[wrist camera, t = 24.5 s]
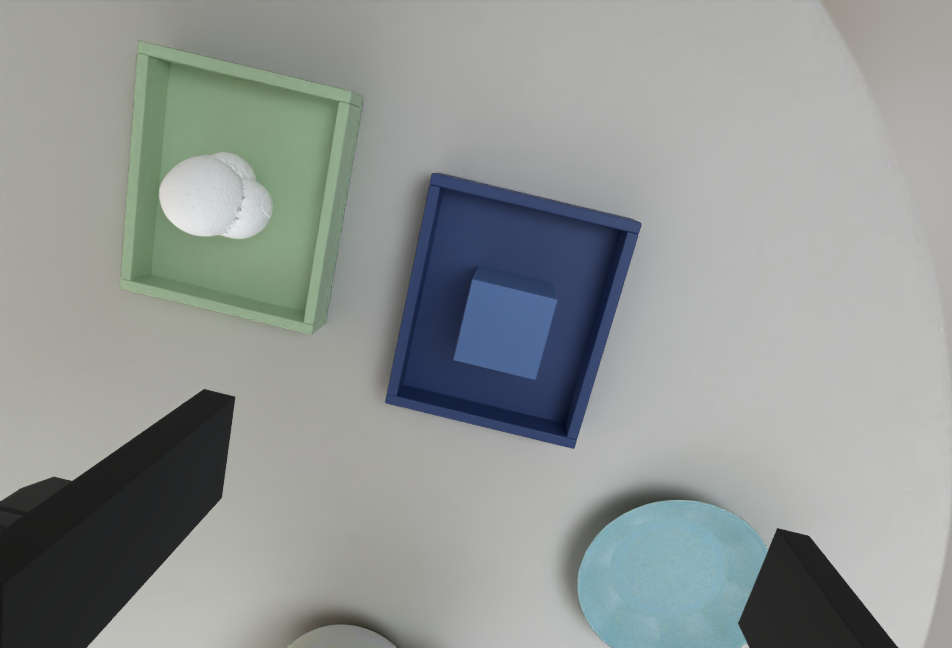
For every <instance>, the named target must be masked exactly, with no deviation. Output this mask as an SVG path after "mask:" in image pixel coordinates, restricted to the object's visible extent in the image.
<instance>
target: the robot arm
mask: <svg viewBox="0 0 952 648" xmlns="http://www.w3.org/2000/svg"><path fill="white" fill-rule="evenodd" d="M234 403H235V397H234V396H230V395H226V394H222V393H218V392H214V391H210V390H206V389H203V390H202V391H201V392H199V393H198V394H196V395H195V396H193V397H192V398H191V399H189V400H188V401H186V402H185V403H183V404H182V405H181V406H179V407H178V408H176V409H175V410H173V411H172V412H170V413H169V414H168V415H166V416H165V417H163V418H162V419H160V420H159V421H158V422H156V423H155V424H153V425H152V426H150V427H149V428H148V429H146V430H145V431H143V432H142V433H140V434H139V435H138V436H136V437H135V438H133V439H132V440H130V441H129V442H128V443H126V444H125V445H123V446H122V447H120V448H119V449H118V450H116V451H115V452H113V453H112V454H110V455H109V456H108V457H106V458H105V459H103V460H102V461H100V462H99V463H98V464H96V465H95V466H93V467H92V468H90V469H89V470H88V471H86V472H85V473H83V474H82V475H80V476H79V477H78V478H76V479H75V480H73V481H70V480H65V479H61V478H57V477H52V478H49V479H46V480H43V481H40V482H37V483H35V484H32V485H29V486H26V487H23V488H21V489H19V490H18V491H16V492H14V493H13V494H11V495H10V496H8V497H7V498H5V499H4V500H2V501H0V648H87V647H88V645H89V644H90V643H91V642H92V641H93V640H94V639H95V638H96V637H97V636H98V634H99V633H100V632H101V631H102V630H103V629H104V628H105V627H106V626H107V624H108V623H109V622H110V621H111V620H112V619H113V618H114V617H115V616H116V614H117V613H118V612H119V611H120V610H121V609H122V608H123V607H124V606H125V604H126V603H127V602H128V601H129V600H130V599H131V598H132V597H133V596H134V595H135V593H136V592H137V591H138V590H139V589H140V588H141V587H142V586H143V585H144V583H145V582H146V581H147V580H148V579H149V578H150V577H151V576H152V575H153V573H154V572H155V571H156V570H157V569H158V568H159V567H160V566H161V565H162V563H163V562H164V561H165V560H166V559H167V558H168V557H169V556H170V555H171V554H172V552H173V551H174V550H175V549H176V548H177V547H178V546H179V545H180V544H181V542H182V541H183V540H184V539H185V538H186V537H187V536H188V535H189V534H190V532H191V531H192V530H193V529H194V528H195V527H196V526H197V525H198V524H199V522H200V521H201V520H202V519H203V518H204V517H205V516H206V515H207V514H208V512H209V511H210V510H211V509H212V508H213V507H214V506H215V505H216V504H217V503H218V501H219V500H220V499H221V498H222V493H223V485H224V478H225V470H226V463H227V455H228V448H229V440H230V433H231V425H232V418H233V410H234ZM738 625H739V627H740V629H741V631H742V633H743V635H744V637H745V639H746V642H747V644H748V646H749V648H898V647H897V646H896V645H895V643H894V642H893V641H892V639H891V638H890V637H889V636H888V634H887V633H886V632H885V631H884V629H883V628H882V627H881V626H880V624H879V623H878V622H877V621H876V619H875V618H874V617H873V616H872V614H871V613H870V612H869V611H868V609H867V608H866V607H865V606H864V604H863V603H862V602H861V600H860V599H859V598H858V597H857V595H856V594H855V593H854V592H853V590H852V589H851V588H850V587H849V585H848V584H847V583H846V582H845V580H844V579H843V578H842V577H841V575H840V574H839V573H838V572H837V570H836V569H835V568H834V567H833V565H832V564H831V563H830V561H829V560H828V559H827V558H826V556H825V555H824V554H823V553H822V551H821V550H820V549H819V548H818V546H817V545H816V544H815V543H814V541H813V540H812V539H811V538H810V536H807V535H803V534H799V533H795V532H791V531H787V530H782V529H778V528H777V530H776V533H775V535H774V538H773V540H772V542H771V545H770V547H769V550H768V552H767V554H766V557H765V559H764V562H763V564H762V566H761V569H760V571H759V574H758V576H757V579H756V581H755V583H754V586H753V588H752V591H751V593H750V595H749V598H748V600H747V603H746V605H745V607H744V610H743V612H742V615H741V617H740V620H739V622H738Z"/></svg>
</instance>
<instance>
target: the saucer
mask: <svg viewBox="0 0 952 648" xmlns="http://www.w3.org/2000/svg"><path fill="white" fill-rule="evenodd" d="M767 552H768V548H767V546H766V544H765V543H764V541H763V539H762V538H761V537H760V536H759V534H758V533H757V532H756V531H755V530H754V529H753V528H752V527H751V526H750V525H749V524H748V523H747V522H745V521H744V520H743V519H741V518H740V517H738V516H736V515H735V514H733V513H731V512H730V511H728V510H725V509H723V508H721V507H718V506H715V505H712V504H708V503H704V502H699V501H691V500H677V499H676V500H665V501H659V502H653V503H649V504H645V505H642V506H640V507H637V508H634V509H632V510H630V511H628V512H626V513H624V514H622V515H621V516H618V517H617V518H616V519H614V520H613V521H611V522H610V523H609V524H607V525H606V526H605V527H604V528H603V529H602V530H601V531H600V532H599V533H598V535H597V536H596V537H595V538H594V539H593V541H592V542H591V544H590V545H589V547H588V549H587V550H586V552H585V554H584V556H583V559H582V561H581V564H580V569H579V571H578V572H579V573H578V581H577V593H578V598H579V602H580V606H581V609H582V612H583V614H584V616H585V618H586V620H587V621H588V623H589V625H590V626H591V628H592V629H593V631H594V632H595V633H596V634H597V635H598V636H599V638H600V639H601V640H602V641H603V642H604V643H606V644H607V645H608V646H610V647H611V648H741V647H742V646H743V645H744V644H746V643H747V642H746V639H745V637H744V635H743V633H742V631H741V629H740V627H739V625H738V622H739V620H740V617H741V615H742V612H743V610H744V607H745V605H746V603H747V600H748V598H749V595H750V593H751V591H752V588H753V586H754V583H755V581H756V579H757V576H758V574H759V571H760V569H761V566H762V564H763V562H764V559H765V557H766V554H767Z"/></svg>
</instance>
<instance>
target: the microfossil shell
mask: <svg viewBox="0 0 952 648" xmlns="http://www.w3.org/2000/svg"><path fill="white" fill-rule="evenodd" d="M159 199H160V203H161V207H162V209H163V211H164V213H165V215H166V217H167V218H168V219H169V221H171V222H172V223H173V224H174V225H175V226H176V227H178V228H179V229H181V230H182V231H184V232H186V233H189V234H192V235H196V236H214V235H222V236H225V237H229V238H233V239H245V238H249V237H252V236H254V235H256V234H257V233H259V232H260V231H262V230H263V229H264V228H265V226H266V225H267V224H268V222H269V220H270V218H271V216H272V212H273V202H272V199H271V196H270V194H269V192H268V191H267V190H266V189H265V188H264V186H262V185H261V184H260V183H258V182H257V181H256V176H255V173H254V171H253V169H252V168H251V166H250V165H249V164H248V163H247V162H246V161H245V160H244V159H242V158H241V157H239V156H238V155H235V154H232V153H229V152H219V153H215V154H212V155H202V156H195V157H191V158H189V159H186V160H184V161H182V162H181V163H179V164H177V165H176V166H175V167H174V168H173V169H171V170H170V171H169V172H168V173H167V175H166V176H165V177H164V179H163V181H162V183H161V185H160V189H159ZM267 230H268V229H267Z"/></svg>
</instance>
